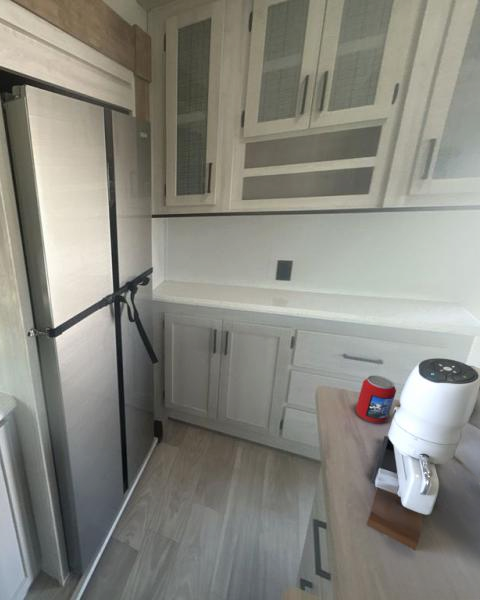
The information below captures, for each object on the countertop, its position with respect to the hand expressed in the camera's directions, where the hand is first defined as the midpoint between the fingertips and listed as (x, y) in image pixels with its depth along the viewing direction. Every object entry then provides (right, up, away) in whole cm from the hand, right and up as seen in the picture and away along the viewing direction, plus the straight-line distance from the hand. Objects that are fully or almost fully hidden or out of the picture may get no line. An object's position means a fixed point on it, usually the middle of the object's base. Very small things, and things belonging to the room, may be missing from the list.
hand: (401, 489), depth 68 cm
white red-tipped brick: (0, -1, 0) cm, 1 cm away
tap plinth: (-2, -6, 0) cm, 6 cm away
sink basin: (+8, -1, +8) cm, 12 cm away
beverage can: (+16, +6, +25) cm, 30 cm away
